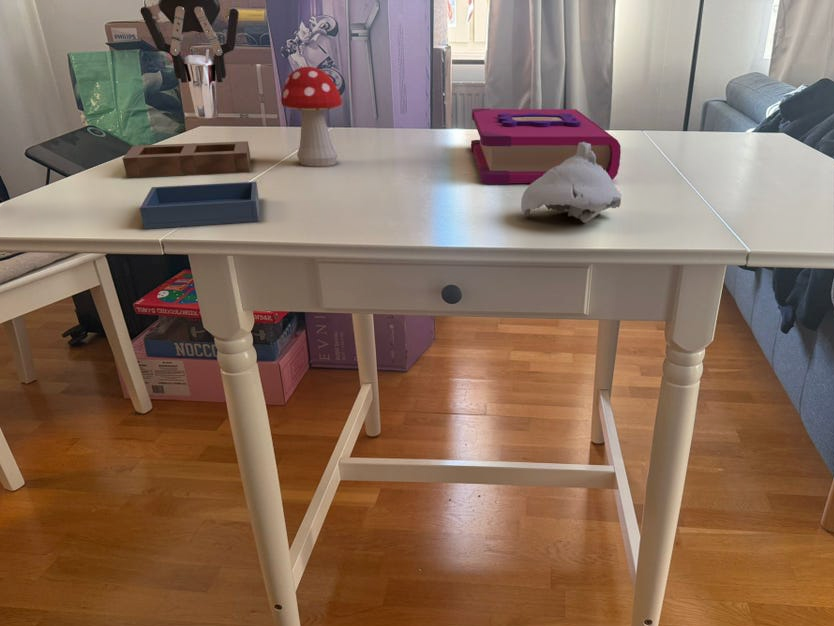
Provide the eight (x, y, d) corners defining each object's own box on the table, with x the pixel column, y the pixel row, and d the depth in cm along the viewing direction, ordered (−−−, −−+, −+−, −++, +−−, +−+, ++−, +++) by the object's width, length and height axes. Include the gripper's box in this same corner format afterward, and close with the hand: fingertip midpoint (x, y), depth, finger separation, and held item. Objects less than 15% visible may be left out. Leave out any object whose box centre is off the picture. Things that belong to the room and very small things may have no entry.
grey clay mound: (563, 222, 94) (584, 144, 91) (629, 243, 86) (655, 159, 83) (501, 211, 86) (522, 126, 83) (568, 234, 78) (594, 140, 75)
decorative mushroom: (356, 160, 116) (348, 65, 109) (333, 170, 109) (323, 70, 102) (304, 156, 118) (293, 63, 111) (278, 166, 111) (265, 68, 104)
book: (581, 147, 128) (584, 105, 124) (617, 183, 103) (623, 131, 99) (470, 148, 126) (470, 105, 123) (481, 184, 102) (481, 132, 98)
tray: (144, 229, 81) (139, 207, 80) (156, 206, 90) (151, 187, 88) (258, 221, 84) (255, 200, 83) (259, 200, 93) (256, 181, 91)
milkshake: (203, 121, 104) (193, 49, 99) (186, 116, 107) (175, 47, 102) (230, 118, 107) (221, 49, 102) (213, 114, 110) (204, 46, 105)
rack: (126, 178, 103) (122, 158, 102) (137, 164, 112) (133, 145, 110) (249, 172, 107) (246, 152, 106) (250, 159, 116) (247, 141, 114)
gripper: (235, -43, 101) (250, 79, 109) (131, -47, 98) (155, 80, 106) (233, -46, 95) (250, 84, 103) (122, -50, 91) (148, 85, 99)
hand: (202, 81), depth 104 cm, fingers closed on milkshake, 4 cm apart
